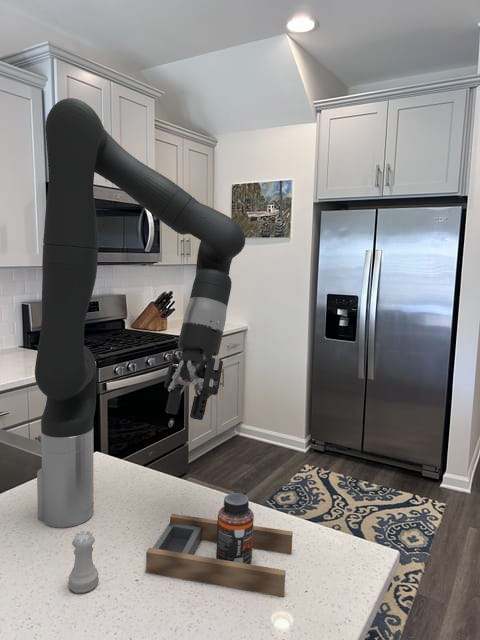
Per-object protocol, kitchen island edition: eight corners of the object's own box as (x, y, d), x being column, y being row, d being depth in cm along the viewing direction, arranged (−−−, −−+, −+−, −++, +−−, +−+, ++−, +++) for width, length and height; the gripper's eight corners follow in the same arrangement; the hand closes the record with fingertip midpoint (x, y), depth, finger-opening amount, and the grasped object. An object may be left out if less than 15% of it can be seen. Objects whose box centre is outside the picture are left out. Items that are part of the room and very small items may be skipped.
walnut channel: (145, 572, 76) (146, 552, 75) (172, 531, 87) (172, 513, 87) (283, 596, 71) (284, 575, 71) (291, 550, 83) (292, 531, 83)
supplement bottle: (248, 577, 76) (250, 510, 74) (211, 571, 77) (213, 505, 75) (254, 555, 81) (257, 492, 80) (220, 549, 83) (222, 487, 81)
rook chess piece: (81, 598, 70) (81, 547, 69) (61, 587, 72) (61, 537, 71) (105, 582, 73) (105, 533, 72) (85, 571, 76) (85, 523, 75)
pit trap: (149, 567, 77) (149, 552, 77) (169, 535, 86) (169, 522, 86) (184, 573, 76) (185, 558, 76) (201, 540, 85) (201, 527, 85)
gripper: (166, 322, 90) (145, 408, 86) (208, 318, 78) (186, 417, 75) (199, 333, 94) (180, 415, 90) (243, 331, 83) (223, 425, 79)
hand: (183, 416), depth 83 cm, fingers open, 8 cm apart
